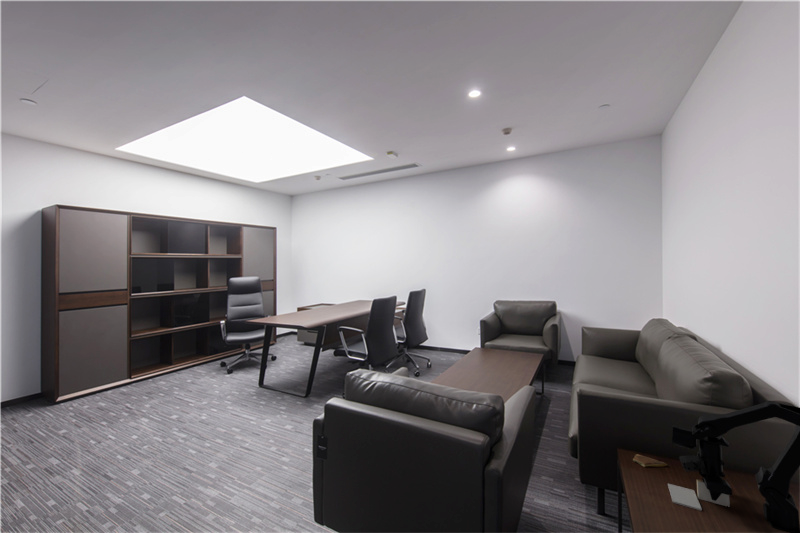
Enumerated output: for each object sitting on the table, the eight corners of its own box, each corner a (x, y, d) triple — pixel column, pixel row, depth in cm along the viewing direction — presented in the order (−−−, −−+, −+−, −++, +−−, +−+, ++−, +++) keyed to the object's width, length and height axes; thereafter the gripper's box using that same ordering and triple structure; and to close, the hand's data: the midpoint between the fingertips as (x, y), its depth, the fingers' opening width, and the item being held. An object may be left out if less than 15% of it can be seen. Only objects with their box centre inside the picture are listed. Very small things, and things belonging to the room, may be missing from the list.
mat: (694, 491, 117) (693, 490, 117) (701, 510, 108) (701, 509, 108) (667, 485, 121) (667, 483, 121) (673, 502, 112) (673, 501, 112)
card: (728, 504, 110) (727, 486, 111) (729, 507, 109) (728, 489, 109) (697, 496, 115) (696, 479, 115) (698, 498, 113) (697, 481, 114)
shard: (668, 467, 133) (667, 462, 133) (665, 475, 127) (664, 470, 128) (636, 456, 141) (636, 452, 141) (632, 464, 135) (632, 459, 136)
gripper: (675, 436, 125) (677, 476, 124) (686, 460, 109) (688, 506, 108) (714, 444, 119) (717, 486, 118) (731, 470, 103) (734, 519, 102)
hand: (713, 498), depth 112 cm, fingers closed on card, 2 cm apart
